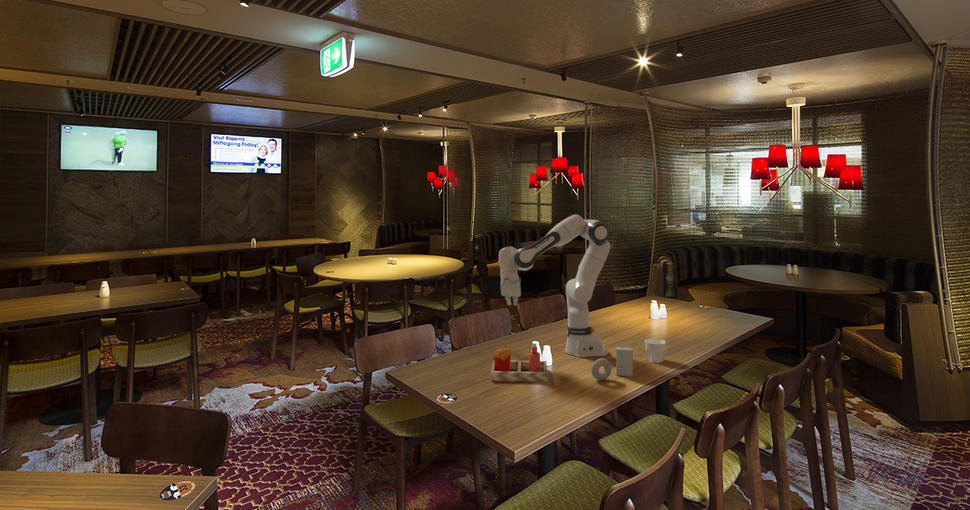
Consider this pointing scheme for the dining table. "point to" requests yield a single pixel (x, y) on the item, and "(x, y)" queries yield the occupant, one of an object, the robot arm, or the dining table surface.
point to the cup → (654, 350)
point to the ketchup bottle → (534, 360)
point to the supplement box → (624, 360)
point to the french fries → (502, 359)
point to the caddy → (520, 375)
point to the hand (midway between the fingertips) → (512, 305)
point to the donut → (606, 371)
